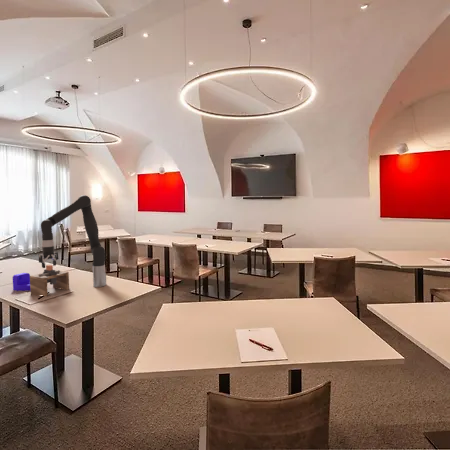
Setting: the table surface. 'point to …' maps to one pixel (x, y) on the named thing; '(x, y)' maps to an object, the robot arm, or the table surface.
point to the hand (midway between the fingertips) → (49, 266)
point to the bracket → (21, 282)
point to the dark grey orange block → (51, 272)
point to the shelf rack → (40, 282)
